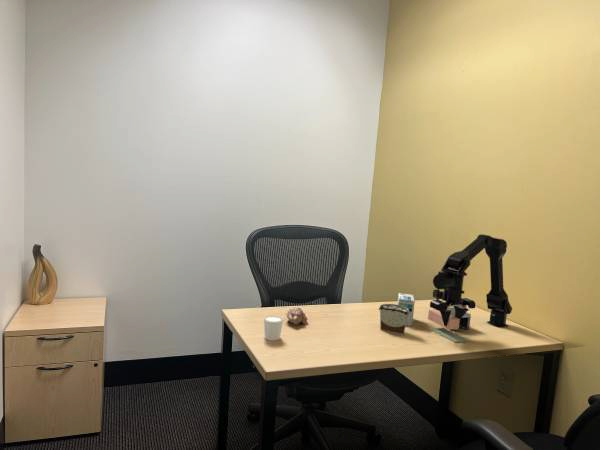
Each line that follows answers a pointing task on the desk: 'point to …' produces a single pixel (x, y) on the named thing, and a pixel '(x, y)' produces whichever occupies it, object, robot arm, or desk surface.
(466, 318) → the dispenser
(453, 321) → the pink block
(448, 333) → the green block
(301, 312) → the mineral specimen
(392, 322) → the food container
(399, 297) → the light bulb box
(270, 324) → the white cylinder
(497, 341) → the desk surface
